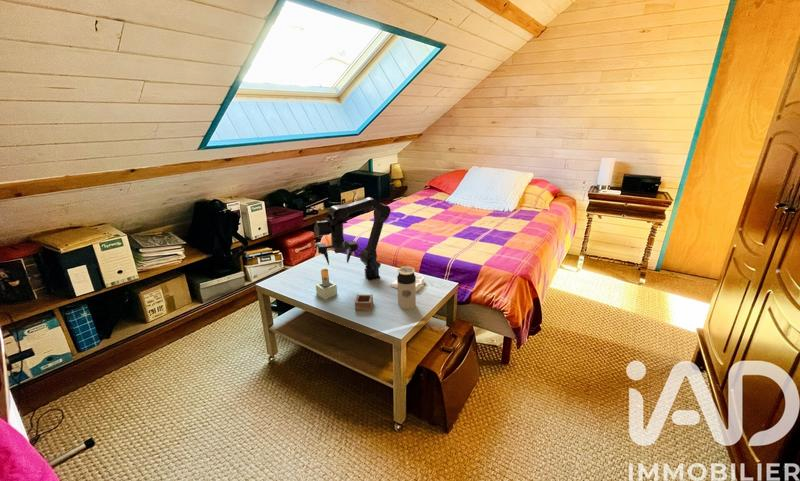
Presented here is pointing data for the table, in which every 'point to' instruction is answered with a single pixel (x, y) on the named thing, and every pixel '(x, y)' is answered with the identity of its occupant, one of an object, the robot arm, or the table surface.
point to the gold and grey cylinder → (325, 278)
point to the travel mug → (406, 288)
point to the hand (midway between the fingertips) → (338, 263)
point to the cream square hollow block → (326, 290)
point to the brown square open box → (363, 303)
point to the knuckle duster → (418, 282)
